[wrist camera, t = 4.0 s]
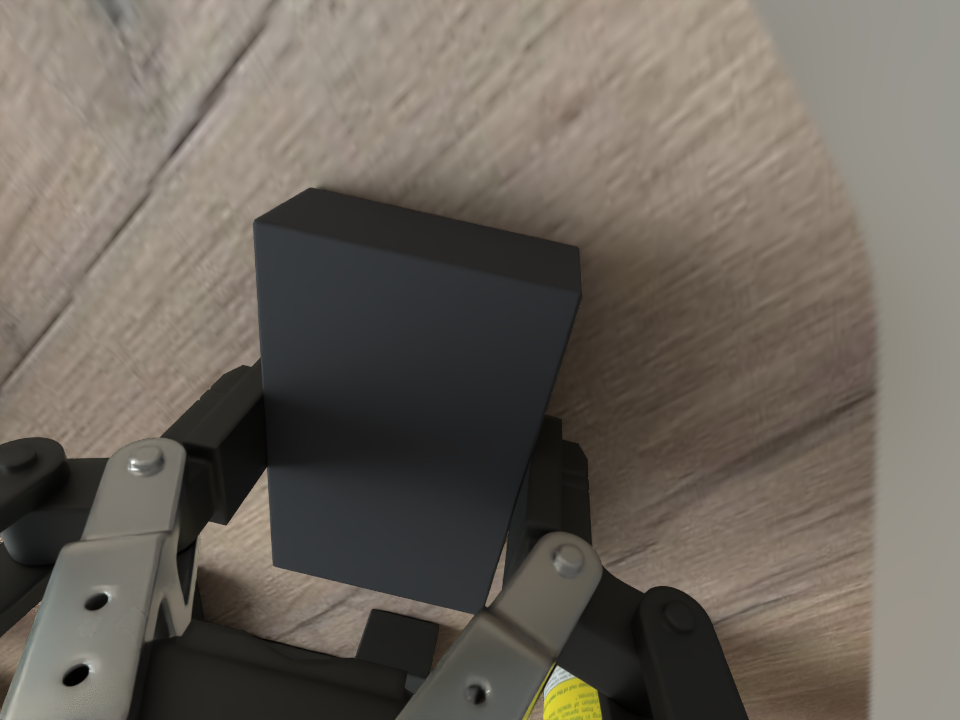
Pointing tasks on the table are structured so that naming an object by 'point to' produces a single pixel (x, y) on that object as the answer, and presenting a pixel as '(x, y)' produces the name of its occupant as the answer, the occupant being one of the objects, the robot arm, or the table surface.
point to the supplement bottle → (570, 698)
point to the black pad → (377, 643)
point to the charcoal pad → (403, 389)
